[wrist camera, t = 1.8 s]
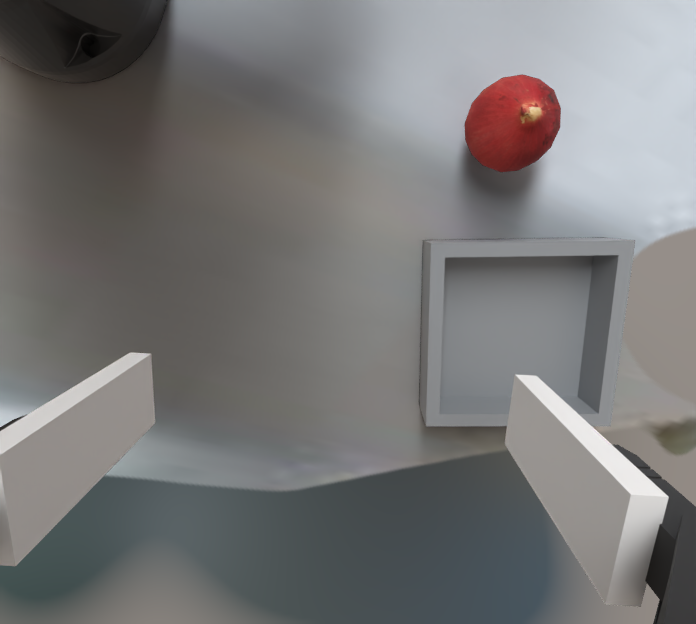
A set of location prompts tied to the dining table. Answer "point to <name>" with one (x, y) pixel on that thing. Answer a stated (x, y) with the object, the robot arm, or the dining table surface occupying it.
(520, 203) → the dining table surface
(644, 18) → the dining table surface
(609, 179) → the dining table surface
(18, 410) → the dining table surface
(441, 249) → the box
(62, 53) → the robot arm
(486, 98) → the onion
